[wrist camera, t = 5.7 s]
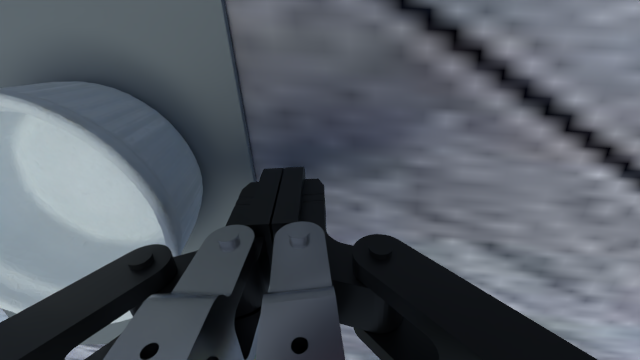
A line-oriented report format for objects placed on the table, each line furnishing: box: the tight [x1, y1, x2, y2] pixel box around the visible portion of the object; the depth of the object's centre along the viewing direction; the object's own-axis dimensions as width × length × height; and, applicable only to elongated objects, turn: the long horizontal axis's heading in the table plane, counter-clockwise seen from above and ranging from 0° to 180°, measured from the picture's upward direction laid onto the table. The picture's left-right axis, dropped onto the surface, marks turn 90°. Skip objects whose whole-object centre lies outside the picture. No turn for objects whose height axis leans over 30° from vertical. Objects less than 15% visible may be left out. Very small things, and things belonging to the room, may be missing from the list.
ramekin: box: [0, 81, 203, 324], centre depth 11 cm, size 9×9×4 cm
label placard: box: [0, 0, 270, 345], centre depth 13 cm, size 24×16×1 cm, turn 3°
